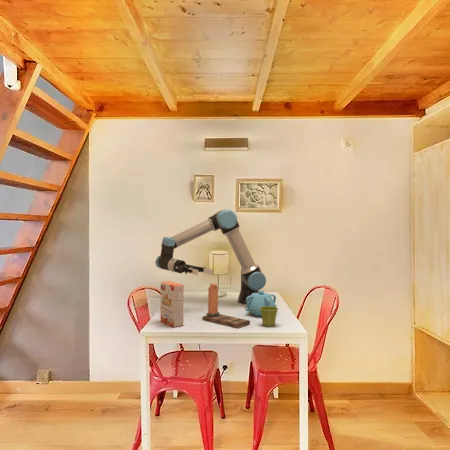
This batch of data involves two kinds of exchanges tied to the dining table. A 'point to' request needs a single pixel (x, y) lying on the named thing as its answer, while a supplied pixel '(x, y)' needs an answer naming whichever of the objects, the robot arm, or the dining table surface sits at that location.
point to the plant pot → (268, 315)
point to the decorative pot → (259, 302)
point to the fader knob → (213, 300)
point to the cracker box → (172, 303)
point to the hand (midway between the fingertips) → (205, 272)
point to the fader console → (227, 320)
